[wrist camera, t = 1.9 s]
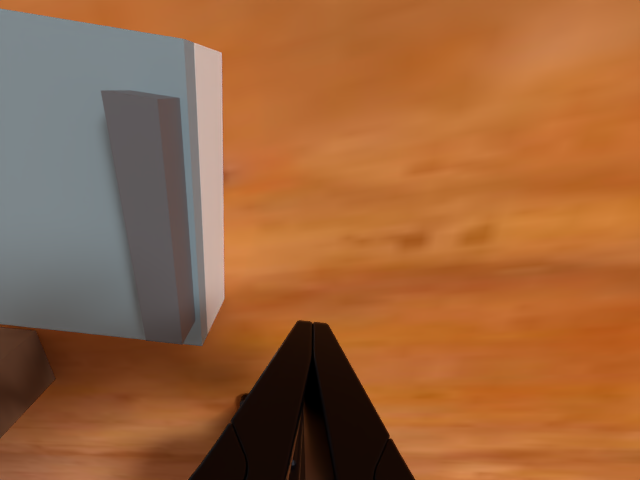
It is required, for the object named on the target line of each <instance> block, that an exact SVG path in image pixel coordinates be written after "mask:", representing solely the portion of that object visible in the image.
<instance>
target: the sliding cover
mask: <svg viewBox="0 0 640 480" xmlns="http://www.w3.org/2000/svg"><path fill="white" fill-rule="evenodd" d="M0 324H4V325H13V326H23V327H32V328H41V329H50V330H59V331H69V332H78V333H87V334H96V335H106V336H115V337H124V338H133V339H142V340H146V341H155V342H165V343H174V344H189V345H198V346H202V345H203V343H204V341H205V339H206V337H207V313H206V292H205V271H204V250H203V229H202V207H201V186H200V165H199V144H198V122H197V101H196V80H195V59H194V43H193V42H190V41H188V40H185V39H180V38H174V37H168V36H162V35H156V34H150V33H144V32H138V31H132V30H126V29H120V28H114V27H108V26H102V25H96V24H90V23H84V22H78V21H72V20H66V19H60V18H54V17H48V16H42V15H36V14H30V13H23V12H17V11H11V10H5V9H0Z"/></svg>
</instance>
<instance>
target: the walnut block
mask: <svg viewBox="0 0 640 480" xmlns="http://www.w3.org/2000/svg"><path fill="white" fill-rule="evenodd" d="M54 380H55V376H54V374H53V372H52V369H51V367H50V364H49V362H48V359H47V357H46V354H45V352H44V349H43V347H42V345H41V342H40V340H39V337H38V335H37V332H36V331H32V330H23V329H14V328H5V327H0V438H1V437H2V436H3V435H4V434H5V433H6V432H7V431H8V429H9V428H10V427H11V426H12V425H13V424H14V423H15V422H16V421H17V420H18V419H19V418H20V417H21V416H22V414H23V413H24V412H25V411H26V410H27V409H28V408H29V407H30V406H31V405H32V404H33V403H34V402H35V400H36V399H37V398H38V397H39V396H40V395H41V394H42V393H43V392H44V391H45V390H46V389H47V388H48V386H49V385H50V384H51V383H52V382H53V381H54Z"/></svg>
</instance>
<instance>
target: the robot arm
mask: <svg viewBox="0 0 640 480" xmlns="http://www.w3.org/2000/svg"><path fill="white" fill-rule="evenodd" d="M389 437H390V435H389V433H388V431H387V430H386V428H385V426H384V424H383V422H382V421H381V419H380V417H379V415H378V413H377V412H376V410H375V408H374V406H373V404H372V403H371V401H370V399H369V397H368V395H367V394H366V392H365V390H364V388H363V386H362V385H361V383H360V381H359V379H358V377H357V376H356V374H355V372H354V370H353V368H352V367H351V365H350V363H349V361H348V359H347V358H346V356H345V354H344V352H343V350H342V349H341V347H340V345H339V343H338V341H337V340H336V338H335V336H334V334H333V332H332V331H331V329H330V327H329V325H328V324H326V323H320V322H314V323H313V324H312V322H310V321H302V320H299V321H297V322H296V324H295V325H294V327H293V328H292V330H291V331H290V333H289V334H288V336H287V337H286V339H285V340H284V342H283V343H282V345H281V346H280V348H279V349H278V351H277V352H276V354H275V355H274V357H273V358H272V360H271V361H270V363H269V364H268V366H267V367H266V369H265V370H264V372H263V373H262V375H261V376H260V378H259V379H258V381H257V382H256V384H255V385H254V387H253V388H252V390H251V391H250V393H249V394H248V395H244V396H242V398H241V402H240V408H239V409H238V411H237V412H236V414H235V415H234V417H233V418H232V420H231V423H229V424H228V425H227V427H226V428H225V430H224V431H223V433H222V434H221V436H220V437H219V439H218V440H217V442H216V443H215V444H214V446H213V447H212V449H211V450H210V451H209V453H208V454H207V456H206V457H205V458H204V460H203V461H202V463H201V464H200V465H199V467H198V468H197V469H196V470H195V472H194V473H193V474H192V475H191V477H190V478H189V479H188V480H415V478H414V477H413V475H412V473H411V472H410V470H409V468H408V467H407V465H406V463H405V461H404V460H403V458H402V456H401V455H400V453H399V451H398V449H397V447H396V445H395V444H394V442H393V440H392V439H389Z"/></svg>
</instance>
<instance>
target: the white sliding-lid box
mask: <svg viewBox="0 0 640 480" xmlns="http://www.w3.org/2000/svg"><path fill="white" fill-rule="evenodd" d="M194 59H195V80H196V101H197V122H198V144H199V165H200V186H201V207H202V229H203V250H204V271H205V292H206V313H207V334H208V332H209V330H210V328H211V326H212V324H213V322H214V320H215V318H216V315H217V313H218V311H219V309H220V307H221V305H222V303H223V301H224V215H223V119H222V53H221V52H218V51H215V50H213V49H210V48H207V47H204V46H202V45H199V44H196V43H194Z"/></svg>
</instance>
